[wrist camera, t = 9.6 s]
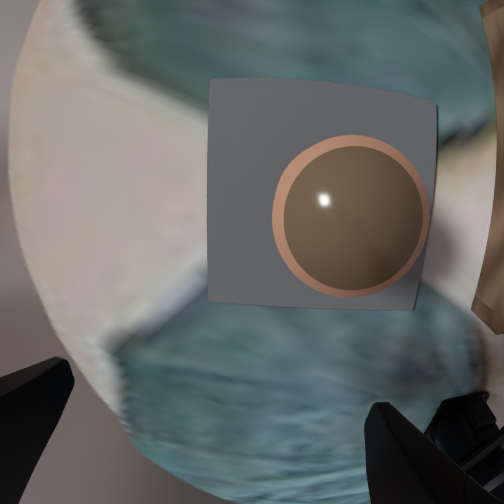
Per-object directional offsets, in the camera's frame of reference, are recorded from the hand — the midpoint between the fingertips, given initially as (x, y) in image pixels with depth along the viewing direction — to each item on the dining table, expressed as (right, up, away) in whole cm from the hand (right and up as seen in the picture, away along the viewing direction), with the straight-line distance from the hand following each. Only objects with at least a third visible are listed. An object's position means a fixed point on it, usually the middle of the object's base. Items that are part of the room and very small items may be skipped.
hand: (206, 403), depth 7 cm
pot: (+6, +7, +10) cm, 13 cm away
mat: (+6, +7, +10) cm, 13 cm away
